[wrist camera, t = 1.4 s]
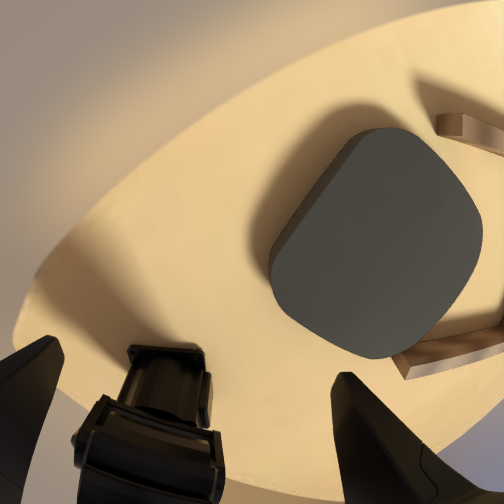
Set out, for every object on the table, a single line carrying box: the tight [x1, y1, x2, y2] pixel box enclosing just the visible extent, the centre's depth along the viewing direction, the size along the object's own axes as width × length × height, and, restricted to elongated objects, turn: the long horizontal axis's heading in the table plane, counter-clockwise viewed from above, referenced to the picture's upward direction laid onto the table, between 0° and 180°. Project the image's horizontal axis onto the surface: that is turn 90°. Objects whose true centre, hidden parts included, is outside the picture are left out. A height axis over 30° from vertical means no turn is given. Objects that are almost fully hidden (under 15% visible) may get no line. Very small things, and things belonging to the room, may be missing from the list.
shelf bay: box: [392, 113, 504, 380], centre depth 18 cm, size 18×21×3 cm
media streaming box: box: [269, 128, 483, 359], centre depth 18 cm, size 15×15×3 cm
